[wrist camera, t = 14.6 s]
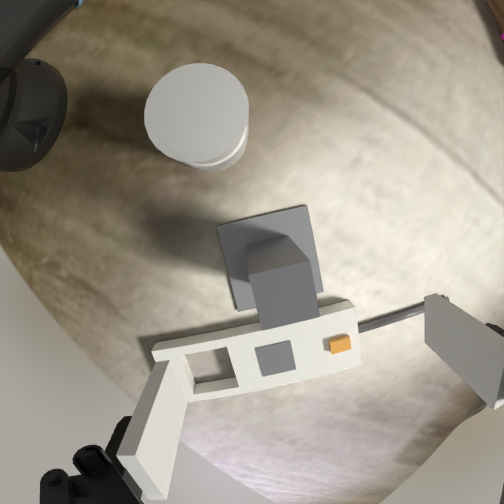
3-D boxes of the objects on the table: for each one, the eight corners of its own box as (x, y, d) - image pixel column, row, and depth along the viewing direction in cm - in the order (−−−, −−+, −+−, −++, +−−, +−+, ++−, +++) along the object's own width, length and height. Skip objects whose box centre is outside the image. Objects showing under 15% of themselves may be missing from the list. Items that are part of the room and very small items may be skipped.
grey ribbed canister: (260, 131, 33) (271, 93, 19) (224, 185, 35) (211, 184, 20) (206, 100, 33) (182, 45, 18) (172, 152, 34) (123, 131, 19)
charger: (256, 285, 36) (262, 331, 25) (246, 245, 35) (248, 274, 24) (296, 275, 36) (320, 317, 25) (288, 235, 35) (310, 260, 24)
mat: (238, 310, 37) (238, 311, 37) (216, 226, 35) (216, 226, 35) (322, 290, 37) (323, 291, 37) (306, 205, 35) (307, 205, 35)
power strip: (176, 393, 40) (172, 407, 36) (156, 342, 38) (149, 354, 35) (445, 324, 39) (457, 333, 36) (444, 271, 37) (457, 277, 34)
